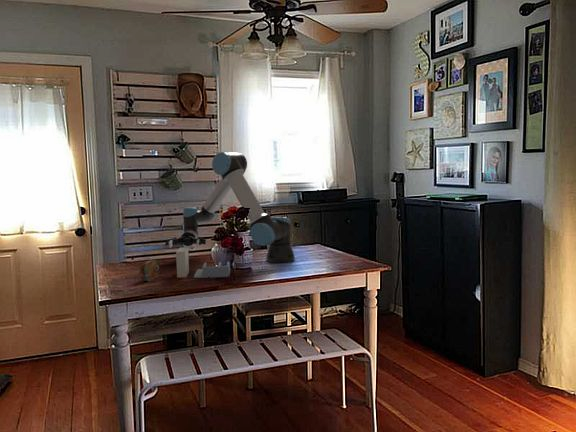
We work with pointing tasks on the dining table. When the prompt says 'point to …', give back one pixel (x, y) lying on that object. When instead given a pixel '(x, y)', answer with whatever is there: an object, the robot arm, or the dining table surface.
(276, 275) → the dining table surface
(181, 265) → the cream upright slab
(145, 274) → the mottled brown flat piece
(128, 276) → the dining table surface
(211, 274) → the rack
